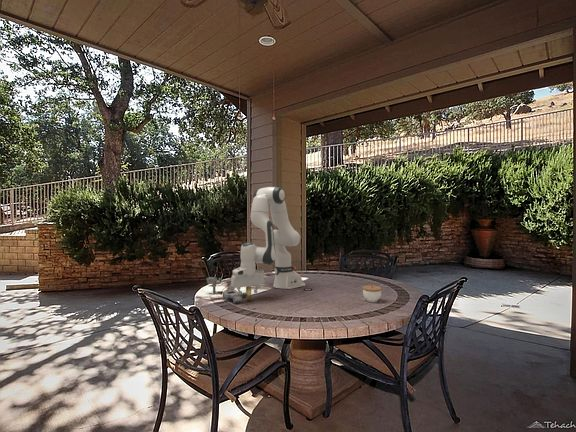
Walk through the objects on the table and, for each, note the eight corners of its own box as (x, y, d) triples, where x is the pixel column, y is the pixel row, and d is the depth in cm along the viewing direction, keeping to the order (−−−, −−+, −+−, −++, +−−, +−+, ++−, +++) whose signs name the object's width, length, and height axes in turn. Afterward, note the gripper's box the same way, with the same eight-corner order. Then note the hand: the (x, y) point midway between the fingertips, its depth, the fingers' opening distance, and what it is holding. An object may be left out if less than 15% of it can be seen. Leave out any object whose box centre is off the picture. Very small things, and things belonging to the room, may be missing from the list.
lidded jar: (382, 303, 190) (382, 287, 189) (362, 302, 192) (362, 286, 191) (380, 298, 200) (380, 282, 200) (362, 297, 202) (362, 282, 202)
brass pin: (250, 299, 200) (250, 286, 200) (252, 300, 198) (252, 287, 197) (245, 300, 199) (245, 286, 199) (247, 301, 196) (247, 287, 196)
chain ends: (247, 294, 211) (247, 288, 211) (257, 301, 197) (257, 294, 197) (222, 298, 203) (222, 291, 203) (231, 305, 189) (231, 298, 189)
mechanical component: (220, 294, 212) (220, 278, 212) (205, 293, 214) (205, 278, 214) (222, 293, 215) (222, 277, 215) (207, 292, 217) (207, 277, 217)
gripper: (262, 267, 205) (262, 290, 206) (229, 270, 195) (229, 294, 196) (266, 269, 200) (266, 292, 200) (233, 272, 190) (233, 297, 190)
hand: (248, 293), depth 198 cm, fingers open, 8 cm apart
